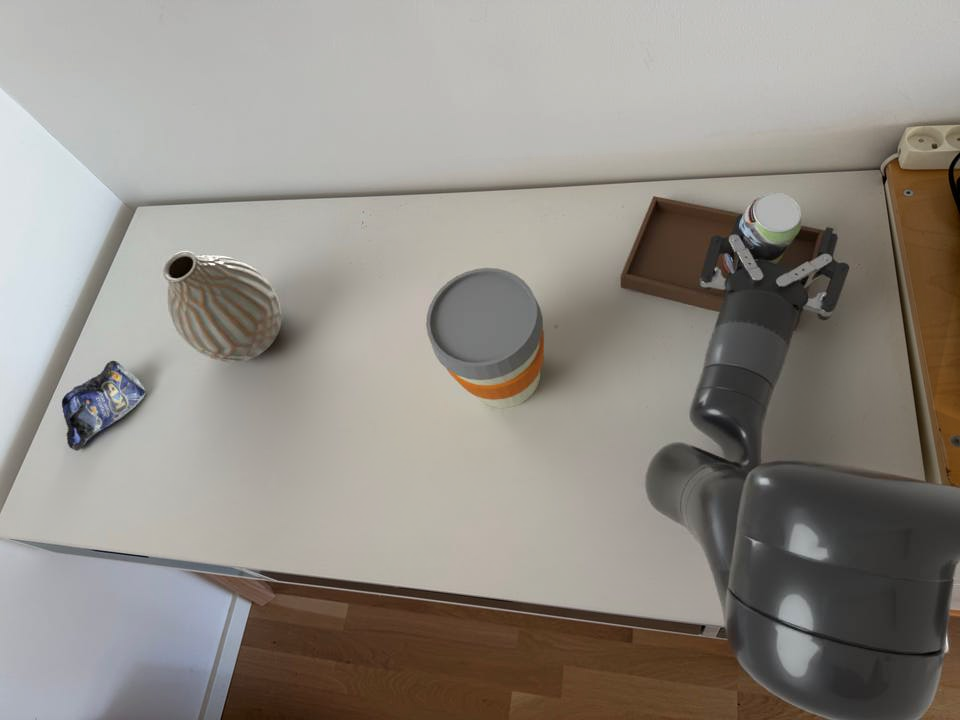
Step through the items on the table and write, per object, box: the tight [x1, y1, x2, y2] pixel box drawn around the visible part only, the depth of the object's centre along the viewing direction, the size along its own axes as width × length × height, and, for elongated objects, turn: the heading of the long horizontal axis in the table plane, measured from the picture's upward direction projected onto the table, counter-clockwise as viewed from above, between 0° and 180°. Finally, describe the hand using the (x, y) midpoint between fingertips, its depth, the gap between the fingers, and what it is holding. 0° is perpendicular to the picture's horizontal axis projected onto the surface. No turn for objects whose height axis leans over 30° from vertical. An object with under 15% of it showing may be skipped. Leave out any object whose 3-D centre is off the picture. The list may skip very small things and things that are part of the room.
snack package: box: [61, 360, 147, 452], centre depth 90 cm, size 12×6×12 cm
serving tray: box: [620, 195, 825, 332], centre depth 81 cm, size 21×13×3 cm, turn 65°
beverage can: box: [722, 192, 803, 275], centre depth 75 cm, size 6×7×12 cm
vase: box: [162, 250, 283, 363], centre depth 85 cm, size 13×13×18 cm
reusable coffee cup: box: [425, 267, 545, 409], centre depth 75 cm, size 13×13×15 cm
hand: (786, 223), depth 73 cm, fingers open, 8 cm apart
